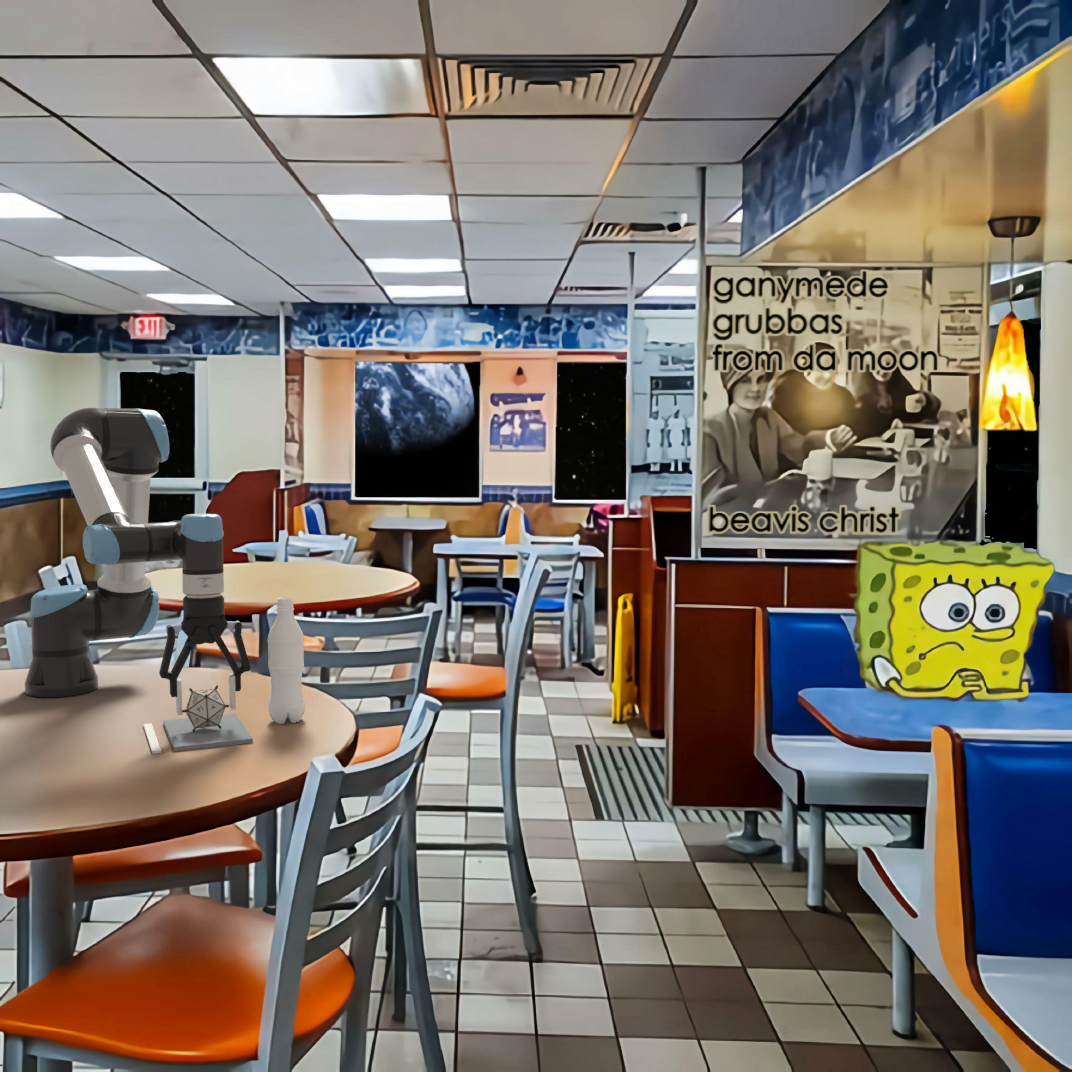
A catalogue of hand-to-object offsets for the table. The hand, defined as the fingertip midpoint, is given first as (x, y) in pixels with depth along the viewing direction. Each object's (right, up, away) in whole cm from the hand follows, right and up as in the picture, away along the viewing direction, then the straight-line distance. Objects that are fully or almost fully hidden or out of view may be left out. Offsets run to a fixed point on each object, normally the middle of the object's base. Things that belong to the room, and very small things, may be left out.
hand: (206, 710), depth 203 cm
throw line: (-9, -5, -4) cm, 11 cm away
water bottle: (+13, -4, +10) cm, 17 cm away
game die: (0, -4, 0) cm, 4 cm away
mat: (0, -4, 0) cm, 5 cm away
